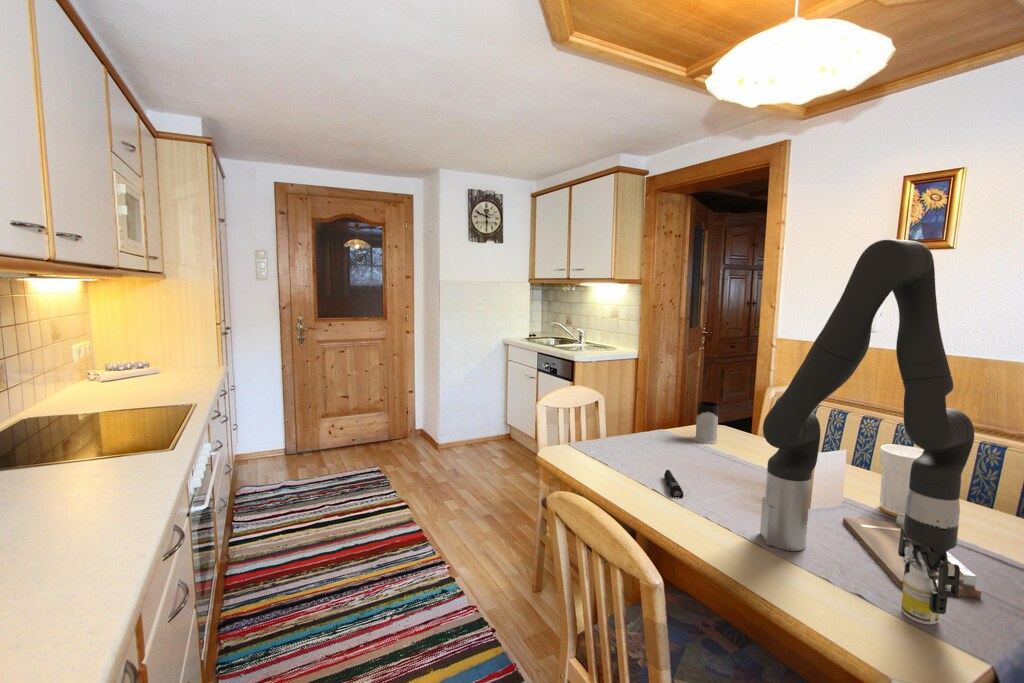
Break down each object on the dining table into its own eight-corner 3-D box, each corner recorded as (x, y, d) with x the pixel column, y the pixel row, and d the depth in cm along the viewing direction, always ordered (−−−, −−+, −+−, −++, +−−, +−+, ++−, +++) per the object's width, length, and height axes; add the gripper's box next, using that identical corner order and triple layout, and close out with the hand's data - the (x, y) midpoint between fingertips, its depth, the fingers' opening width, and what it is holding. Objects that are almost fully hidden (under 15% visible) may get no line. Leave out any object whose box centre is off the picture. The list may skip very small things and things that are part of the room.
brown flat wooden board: (899, 587, 100) (900, 580, 100) (842, 522, 127) (843, 517, 127) (980, 598, 97) (981, 590, 97) (904, 529, 124) (905, 523, 124)
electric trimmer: (673, 478, 157) (674, 469, 156) (684, 499, 141) (684, 488, 141) (661, 478, 157) (662, 468, 157) (670, 498, 142) (671, 488, 142)
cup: (878, 515, 131) (885, 454, 129) (870, 499, 141) (876, 441, 139) (932, 525, 126) (939, 461, 124) (920, 507, 136) (926, 448, 134)
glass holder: (694, 442, 191) (696, 405, 189) (693, 432, 204) (695, 397, 202) (718, 445, 188) (720, 407, 186) (715, 434, 201) (717, 399, 199)
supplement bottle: (920, 605, 95) (925, 559, 93) (945, 625, 89) (951, 576, 88) (893, 606, 94) (898, 559, 93) (917, 626, 89) (923, 576, 88)
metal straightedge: (963, 586, 98) (964, 574, 98) (896, 524, 123) (897, 515, 123) (975, 587, 98) (976, 576, 98) (905, 525, 123) (906, 516, 123)
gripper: (888, 497, 97) (881, 573, 99) (930, 532, 83) (922, 619, 85) (932, 501, 95) (924, 578, 97) (982, 537, 82) (973, 626, 83)
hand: (923, 597), depth 91 cm, fingers open, 8 cm apart
